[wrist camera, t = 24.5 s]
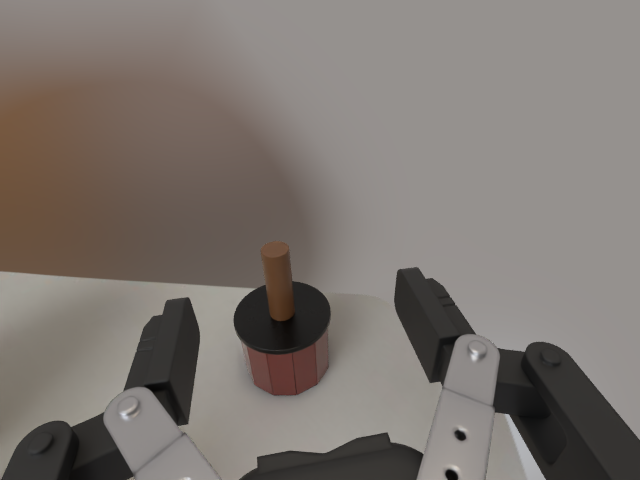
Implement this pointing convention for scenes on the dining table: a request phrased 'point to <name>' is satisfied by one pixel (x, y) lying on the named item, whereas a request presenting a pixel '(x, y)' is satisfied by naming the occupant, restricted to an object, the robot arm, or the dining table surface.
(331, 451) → the robot arm
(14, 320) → the dining table surface
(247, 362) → the pot
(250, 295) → the lid
